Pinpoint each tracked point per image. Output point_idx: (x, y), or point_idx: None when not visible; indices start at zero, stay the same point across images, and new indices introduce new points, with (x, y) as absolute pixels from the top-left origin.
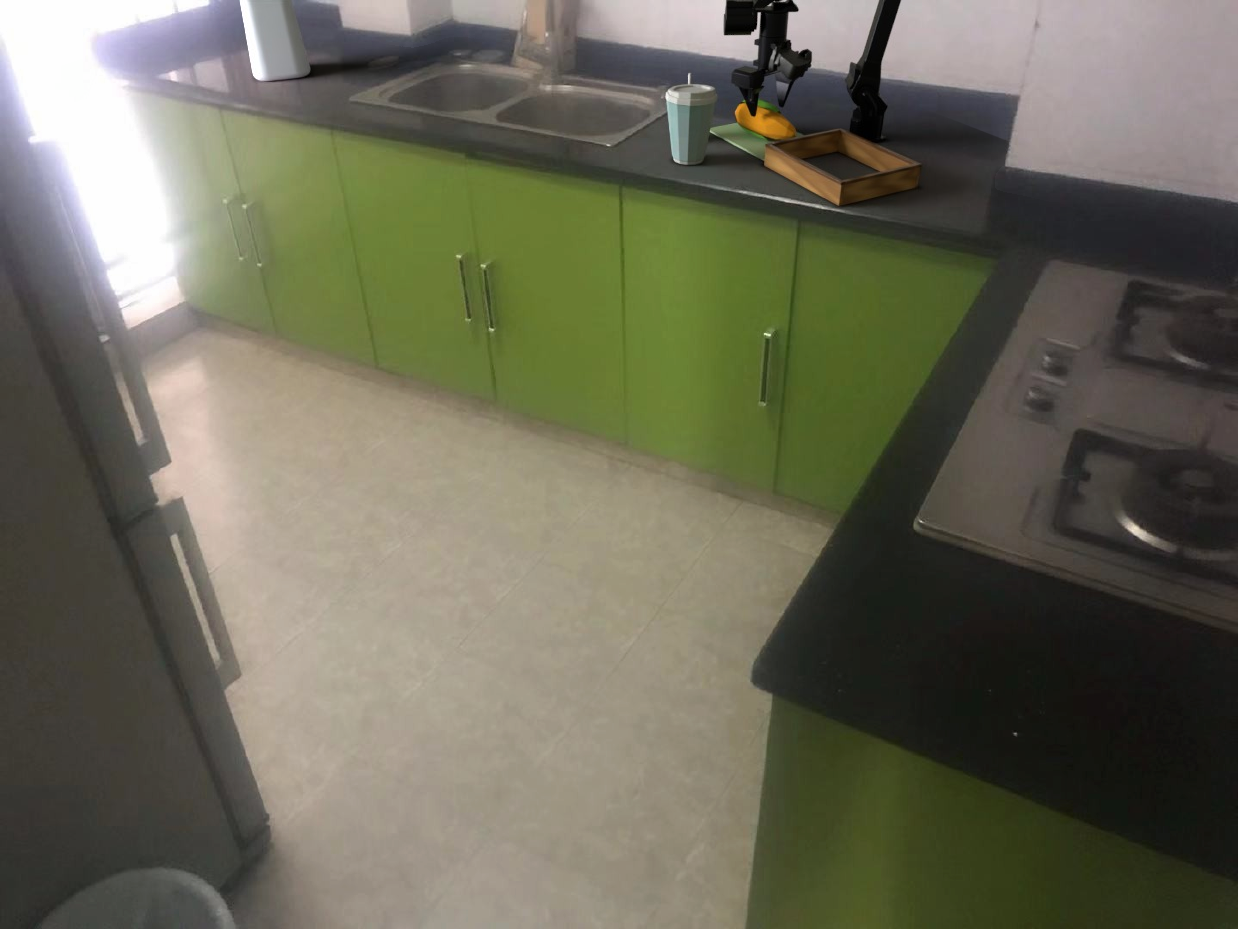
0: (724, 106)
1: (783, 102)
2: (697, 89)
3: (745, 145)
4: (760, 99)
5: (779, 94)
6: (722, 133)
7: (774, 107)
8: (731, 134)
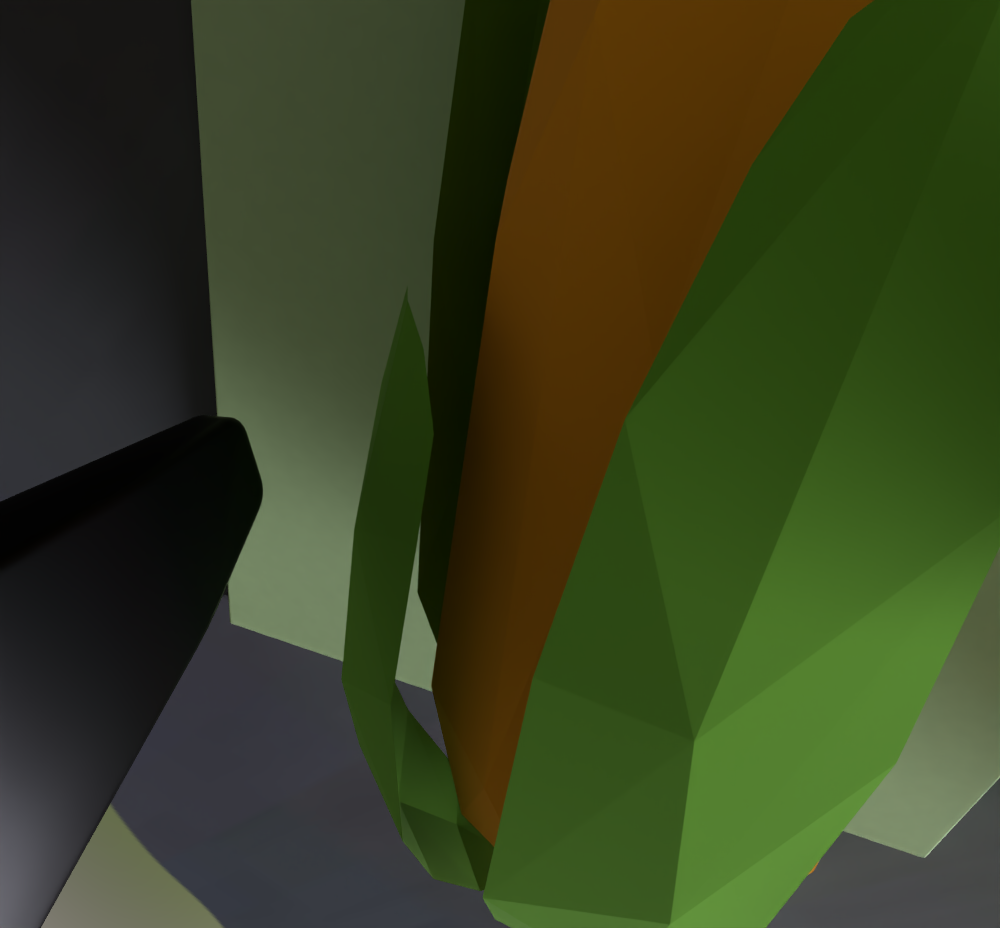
0: (338, 902)
1: (176, 463)
2: None
3: None
4: (398, 823)
5: (127, 684)
6: (980, 706)
7: (797, 328)
8: None
